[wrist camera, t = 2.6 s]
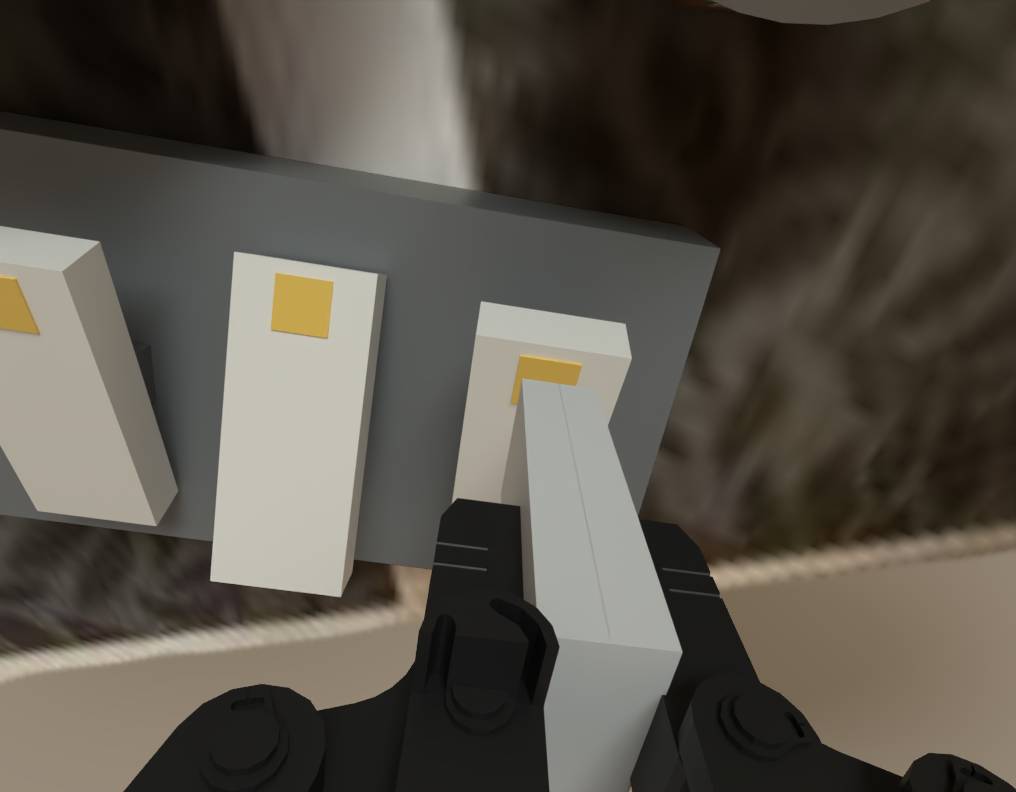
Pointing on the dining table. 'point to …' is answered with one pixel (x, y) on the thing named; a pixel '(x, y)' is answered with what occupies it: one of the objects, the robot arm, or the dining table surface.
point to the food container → (805, 9)
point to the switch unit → (358, 246)
